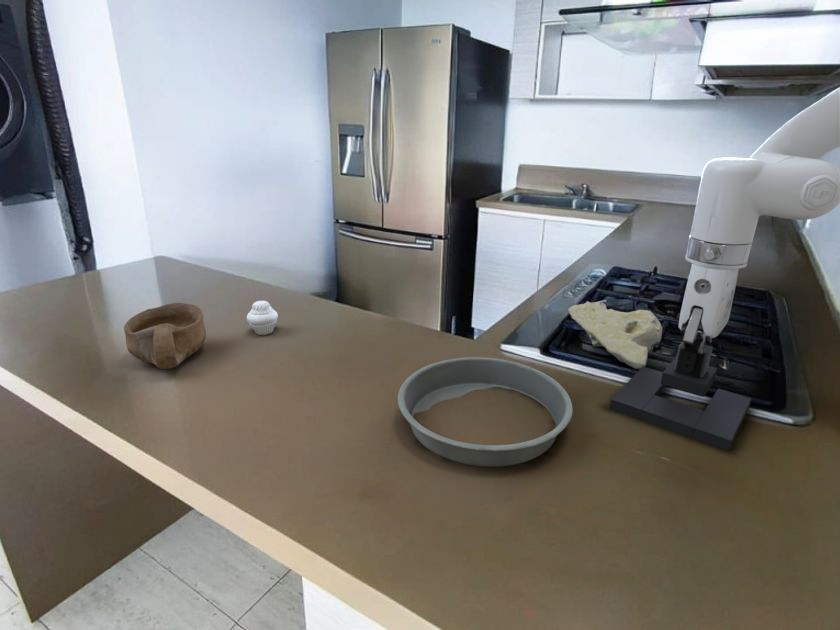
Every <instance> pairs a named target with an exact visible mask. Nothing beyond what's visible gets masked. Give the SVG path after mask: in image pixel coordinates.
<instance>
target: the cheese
mask: <svg viewBox="0 0 840 630" xmlns="http://www.w3.org/2000/svg"><path fill="white" fill-rule="evenodd" d="M603 302H604V303H603ZM605 302H607V299H603V300H599V301H594V302H590V301H586V302H585V303H580V304H573V305H572V306H570V307H568V310H567V311H568V313H569V315H570V317H571V319H572V320H573V321H575V322H576V323H577V325H579V326H581V328H582V329H583V330H584V331H585V333H586V334H587V335H588V336H589V339H590V341H591V343H592V346H593V347H595V348H596V347H597V348H599V347H601V348H604V349H606V352H608V353H610V354H611V355H612V356H613V357H615V358H616V359H617V360H618V361H619V362H620V363H624V364H626V365H627V366H629V367H631V368H632V369H634V370H638V371H639V370H640V369H641V368H642V367H646V366H647V362H648V356H649V355H648V353H650V352H651V351H652V350H651V346H652V344H654V343H656V342H659V343H660V342H661V339H662V336H663V325H662V324H661V322H660V321H659V319H658V318H657V316H655V314H654V313H653V312H652V311H651V310H647V309H638V310H633V311H628V312H624V311H619V310H614V309H613V308H609V309H607V305H606V304H605Z"/></svg>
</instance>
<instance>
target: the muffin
mask: <svg viewBox="0 0 840 630" xmlns="http://www.w3.org/2000/svg"><path fill="white" fill-rule="evenodd" d="M278 317H279V314H278V312H277V311H276V310H275V309H274V308H273V307H272V306H271V303H270V302H269V301H267V300H257V301H255V302H253V304H252V305H251V309H250V311H249V312H248V313H247V315H246V321H247V323H248V324H249V327H251V329H252V330H253V331H254V332H255V334H256V335H259V336H266V335H267V336H268V335H270V334H272V333H273V332H274V328H275V327H276V325H277V321H278Z"/></svg>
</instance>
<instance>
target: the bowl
mask: <svg viewBox="0 0 840 630" xmlns="http://www.w3.org/2000/svg"><path fill="white" fill-rule="evenodd" d="M123 331H124V335H125V345H126V349H127V351H128V353H130V355H132V356H133V357H134V358H136V359H137V360H140V361H142V362H145V363H148V364H154V365H155V366H156V367H157V368H158V369H161V370H170V369H173V368H176V367H177V366H179V365H180V364H182V362H183V361H185V360H186V359H187V358H189V357H191V356H192V355H193V354H194V353H196V352H197V351H198V350H199V349H200V348H201V347H202V346H203V345H204V343H205V341H206V338H207V330H206V325H205V321H204V313H203V311H202V309H201V308H200V307H199V306H197V305H195V304H189V303H185V302H173V303H166V304H163V305H160V306H158V307H157V306H156V307H153V308H152V307H151V308H147V309H145V310H143V311H141V312H139V313H137V314H135V315H133V316H132V317H130V318H129V319H128V320H127V321H126V323H125V324H124V326H123Z"/></svg>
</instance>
